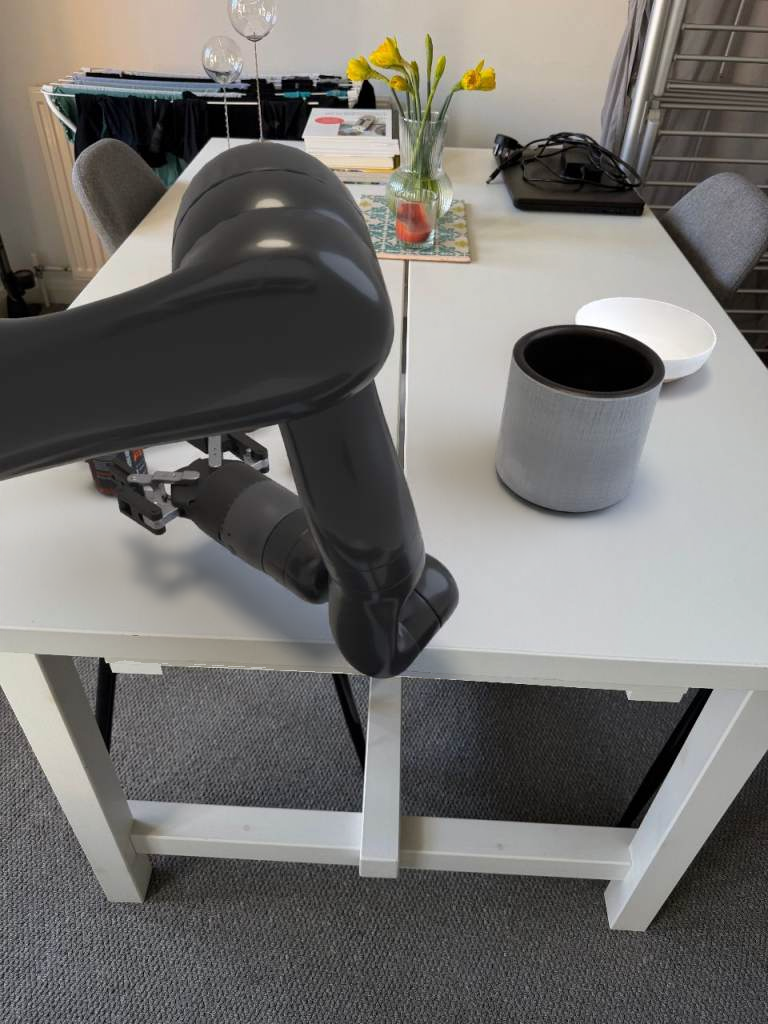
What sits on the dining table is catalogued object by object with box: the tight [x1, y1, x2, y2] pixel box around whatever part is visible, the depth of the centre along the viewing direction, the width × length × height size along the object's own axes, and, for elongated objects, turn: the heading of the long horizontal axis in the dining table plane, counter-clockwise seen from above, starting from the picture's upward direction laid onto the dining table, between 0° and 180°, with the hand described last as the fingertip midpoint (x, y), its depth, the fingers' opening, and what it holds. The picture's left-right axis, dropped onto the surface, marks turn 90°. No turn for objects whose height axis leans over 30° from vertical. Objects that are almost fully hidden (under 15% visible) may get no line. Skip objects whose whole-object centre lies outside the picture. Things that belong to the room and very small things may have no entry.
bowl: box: [573, 296, 717, 383], centre depth 105 cm, size 20×20×6 cm
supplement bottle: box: [87, 448, 149, 496], centre depth 80 cm, size 6×6×11 cm
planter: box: [495, 324, 665, 513], centre depth 81 cm, size 16×16×16 cm
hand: (150, 447), depth 74 cm, fingers open, 8 cm apart
